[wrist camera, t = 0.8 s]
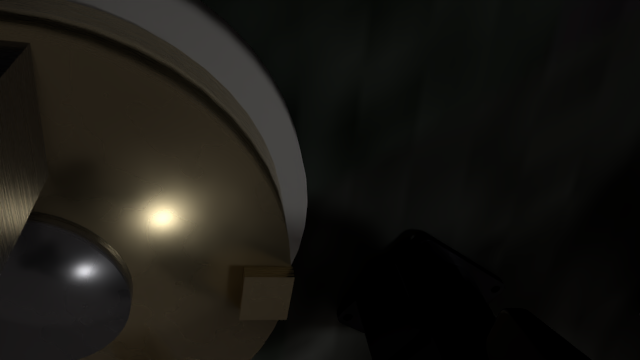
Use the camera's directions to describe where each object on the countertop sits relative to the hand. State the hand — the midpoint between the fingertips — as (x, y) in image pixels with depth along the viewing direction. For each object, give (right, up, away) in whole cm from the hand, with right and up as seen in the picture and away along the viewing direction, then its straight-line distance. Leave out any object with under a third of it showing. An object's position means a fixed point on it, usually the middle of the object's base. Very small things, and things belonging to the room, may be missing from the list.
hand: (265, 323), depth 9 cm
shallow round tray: (-8, +1, +10) cm, 13 cm away
